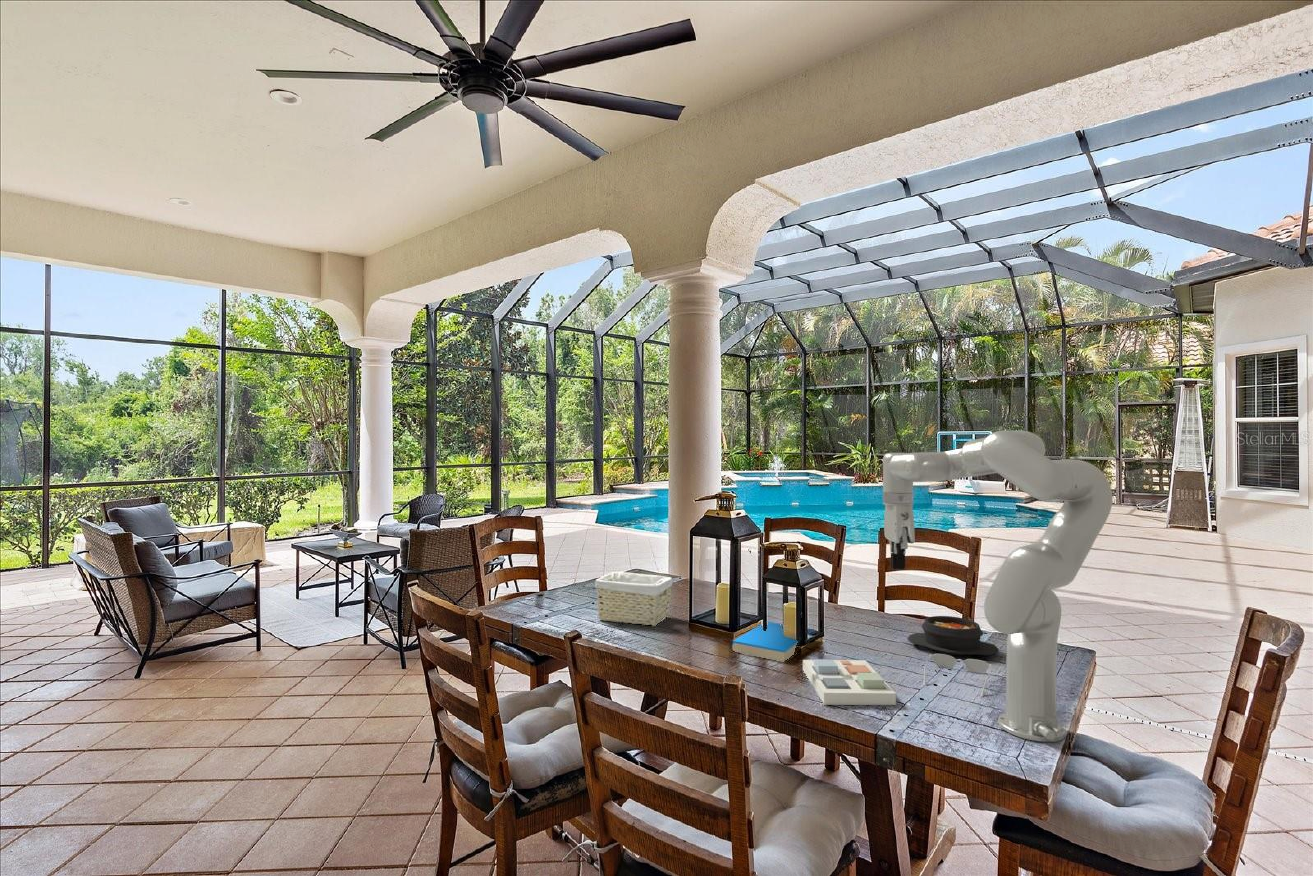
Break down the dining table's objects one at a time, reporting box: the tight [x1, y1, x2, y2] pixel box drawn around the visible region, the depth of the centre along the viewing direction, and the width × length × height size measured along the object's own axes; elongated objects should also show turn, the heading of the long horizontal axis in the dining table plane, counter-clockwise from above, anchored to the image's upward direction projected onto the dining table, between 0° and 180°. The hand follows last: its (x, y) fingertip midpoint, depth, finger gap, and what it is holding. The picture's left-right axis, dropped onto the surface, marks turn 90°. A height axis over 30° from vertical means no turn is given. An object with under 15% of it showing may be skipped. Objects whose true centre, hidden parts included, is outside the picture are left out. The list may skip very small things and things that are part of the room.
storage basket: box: [594, 571, 673, 627], centre depth 226 cm, size 24×16×15 cm
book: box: [730, 621, 815, 663], centre depth 196 cm, size 17×4×25 cm
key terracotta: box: [846, 665, 871, 675], centre depth 167 cm, size 5×5×2 cm
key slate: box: [823, 678, 849, 689], centre depth 158 cm, size 5×5×2 cm
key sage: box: [857, 672, 885, 689], centre depth 158 cm, size 5×5×2 cm
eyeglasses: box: [922, 653, 992, 697], centre depth 169 cm, size 15×18×4 cm
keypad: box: [802, 659, 897, 706], centre depth 164 cm, size 23×17×3 cm
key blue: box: [813, 658, 838, 675], centre depth 167 cm, size 5×5×2 cm
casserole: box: [907, 615, 1000, 656], centre depth 194 cm, size 25×19×8 cm
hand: (897, 568), depth 170 cm, fingers closed
